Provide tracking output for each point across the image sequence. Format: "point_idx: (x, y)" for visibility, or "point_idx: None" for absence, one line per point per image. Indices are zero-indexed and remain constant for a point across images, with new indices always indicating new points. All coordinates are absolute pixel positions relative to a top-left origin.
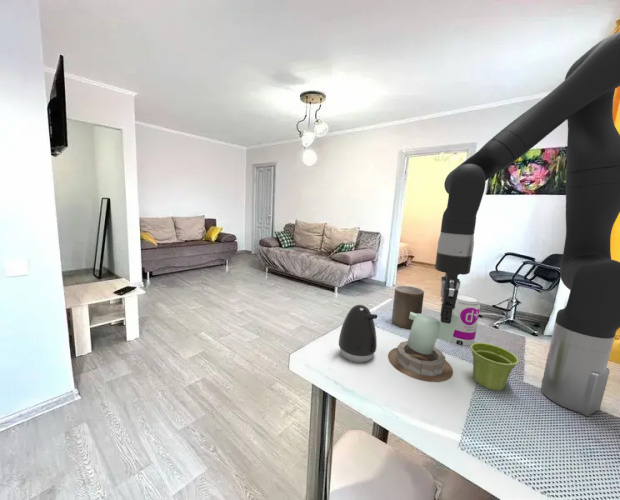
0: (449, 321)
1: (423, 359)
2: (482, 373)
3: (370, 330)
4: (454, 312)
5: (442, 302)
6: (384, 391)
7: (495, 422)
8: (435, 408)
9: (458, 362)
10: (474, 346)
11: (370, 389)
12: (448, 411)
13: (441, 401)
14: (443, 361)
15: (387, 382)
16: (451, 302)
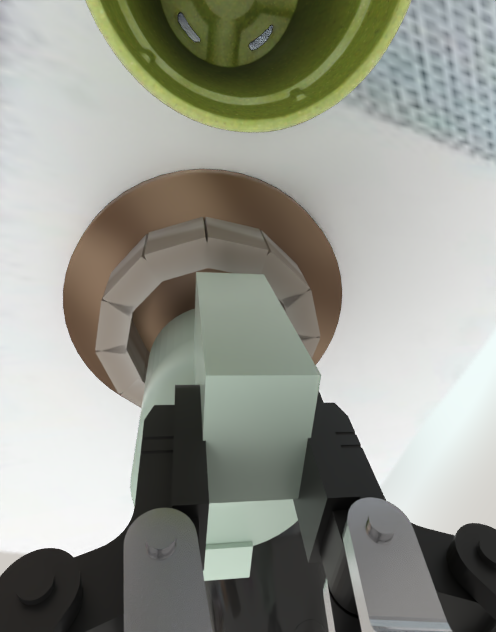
0: (317, 399)
1: (172, 299)
2: (309, 47)
3: (317, 577)
4: (208, 409)
5: (330, 623)
6: (400, 387)
7: (493, 41)
8: (450, 253)
9: (50, 113)
10: (164, 82)
11: (400, 417)
12: (457, 213)
13: (410, 232)
14: (259, 249)
15: (354, 386)
16: (198, 547)
